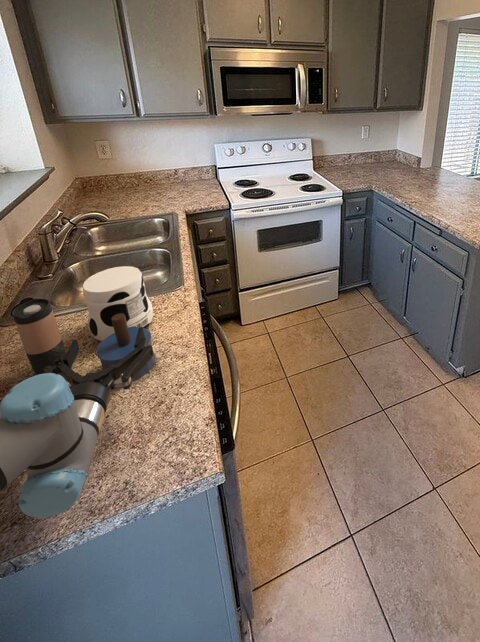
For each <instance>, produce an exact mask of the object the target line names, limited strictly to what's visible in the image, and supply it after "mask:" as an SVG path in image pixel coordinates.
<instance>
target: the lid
mask: <svg viewBox="0 0 480 642" xmlns="http://www.w3.org/2000/svg"><path fill="white" fill-rule="evenodd" d="M111 320H112V324H113V327H114V331H115V333H113V334H111V335H110V336H108V337H107V338H105V339H104V340H103V341H102V342H101V341H100V343H99V344H98V346H97V348H96V352H95V353H96V356H97V358H98V360H99V361H100V360H102V361H105V362H118V361H120V360H121V359H122V358H124V357H125V356H126V355H128V354H129V353H130V352H131V351H133V350H134V349H135V347H134V345H135V341H136V337H137V333H138V330H139V327H132V328H128V326H127V322H126V318H125V314H123V313H120V314H116V315H114V316H113V317H112V318H111ZM143 331H144V336H145V338H146V341H147V346H148V345H149V343H150V341H151V342H152V333H151V331H150V330H149V329H147V328H146V329H145V328H143ZM147 346H146V347H147Z"/></svg>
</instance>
